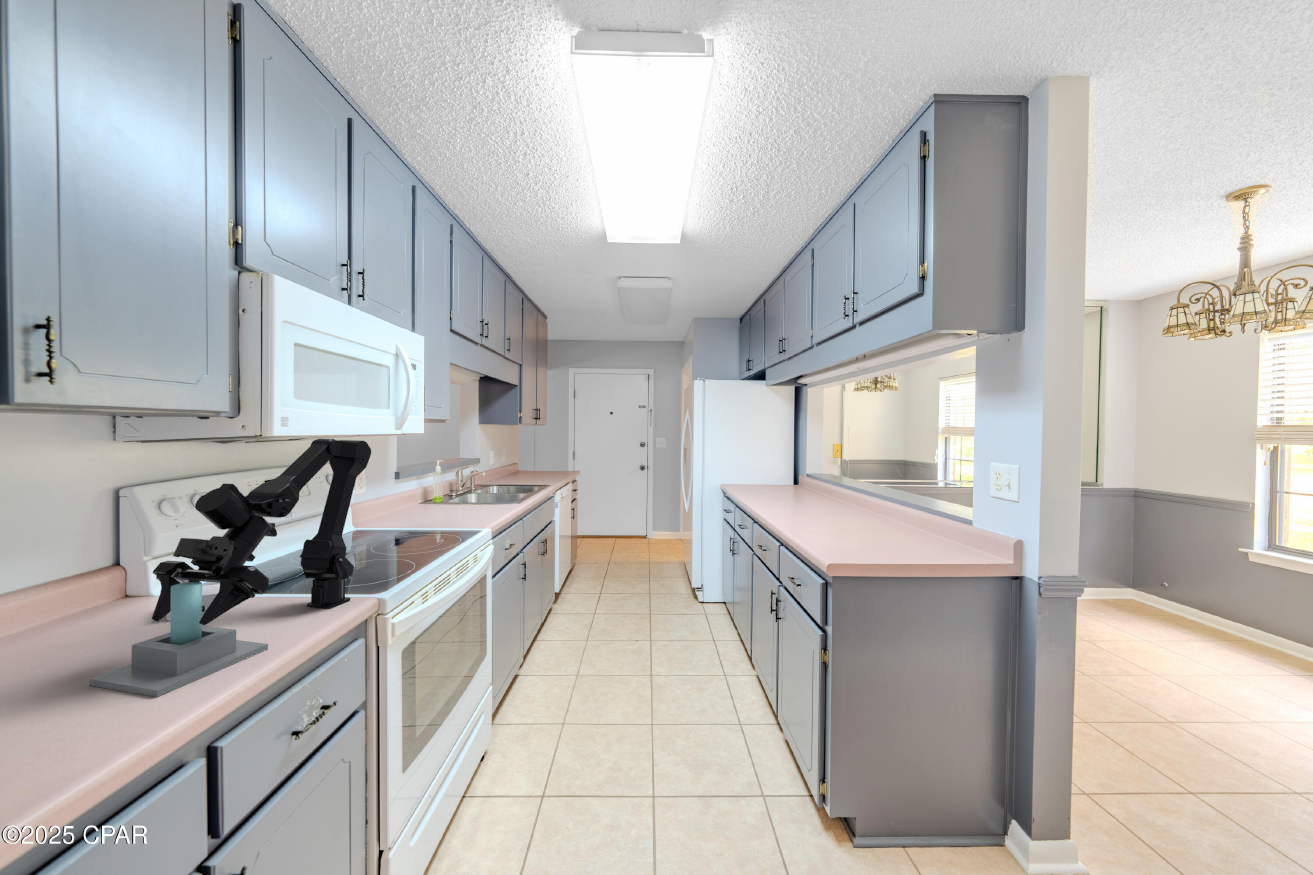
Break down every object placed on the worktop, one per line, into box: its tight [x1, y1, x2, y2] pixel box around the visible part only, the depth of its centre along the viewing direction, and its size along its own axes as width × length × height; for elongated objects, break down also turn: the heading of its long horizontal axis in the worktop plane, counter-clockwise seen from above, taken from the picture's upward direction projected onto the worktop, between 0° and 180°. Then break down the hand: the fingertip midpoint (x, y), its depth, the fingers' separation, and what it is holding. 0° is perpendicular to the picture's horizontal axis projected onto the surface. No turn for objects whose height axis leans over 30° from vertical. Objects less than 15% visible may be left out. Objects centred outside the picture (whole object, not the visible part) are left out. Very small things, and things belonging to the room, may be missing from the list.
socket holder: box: [88, 625, 269, 698], centre depth 90 cm, size 18×14×5 cm
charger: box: [165, 583, 220, 622], centre depth 119 cm, size 5×9×15 cm
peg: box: [169, 581, 203, 645], centre depth 90 cm, size 4×4×13 cm
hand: (177, 622), depth 89 cm, fingers open, 9 cm apart
